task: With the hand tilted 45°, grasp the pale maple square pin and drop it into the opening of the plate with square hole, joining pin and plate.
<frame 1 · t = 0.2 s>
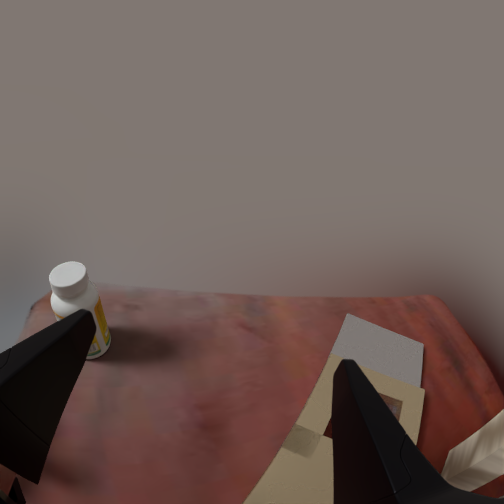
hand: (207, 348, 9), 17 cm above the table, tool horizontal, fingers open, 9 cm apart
maple pin: (456, 472, 14), on the table
plate with square hole: (356, 428, 21), on the table
supplement bottle: (91, 343, 26), on the table
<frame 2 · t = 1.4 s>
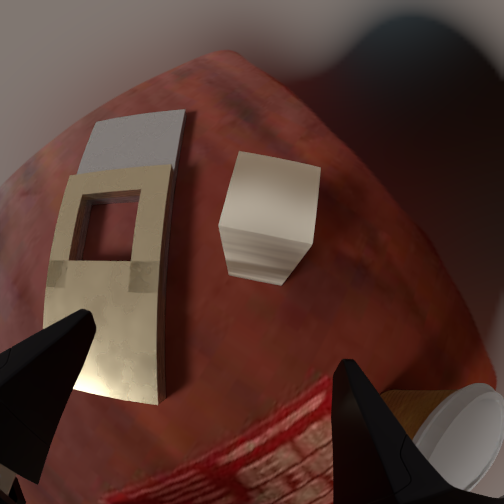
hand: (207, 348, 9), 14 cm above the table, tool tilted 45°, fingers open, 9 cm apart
maple pin: (260, 255, 24), on the table
plate with square hole: (113, 233, 24), on the table
disposable coffee cup: (387, 418, 20), on the table
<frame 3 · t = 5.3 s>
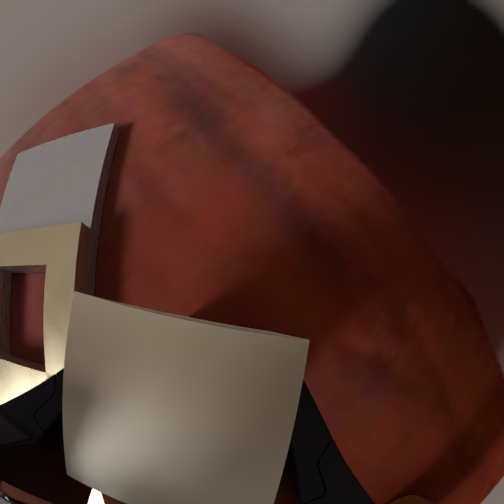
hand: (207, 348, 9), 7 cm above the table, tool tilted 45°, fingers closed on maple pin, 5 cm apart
maple pin: (221, 363, 14), on the table, touching gripper
plate with square hole: (34, 317, 15), on the table
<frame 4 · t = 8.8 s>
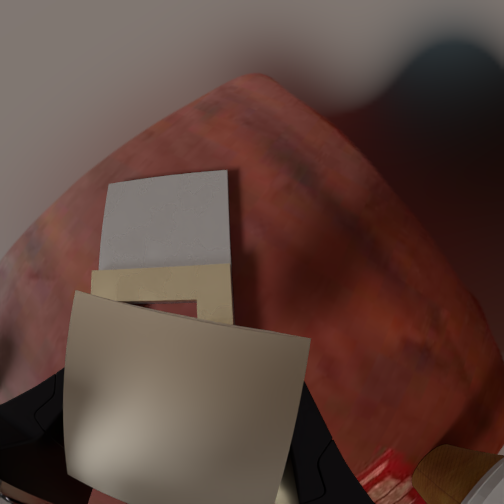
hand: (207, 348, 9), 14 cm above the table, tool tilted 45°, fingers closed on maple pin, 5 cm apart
maple pin: (221, 362, 15), point 7 cm above the table, touching gripper
plate with square hole: (165, 343, 21), on the table
disposable coffee cup: (433, 467, 17), on the table
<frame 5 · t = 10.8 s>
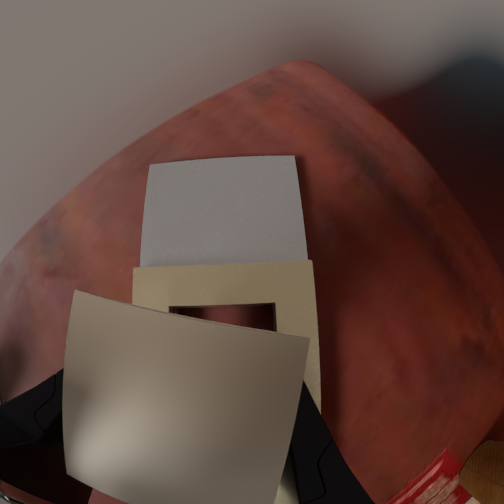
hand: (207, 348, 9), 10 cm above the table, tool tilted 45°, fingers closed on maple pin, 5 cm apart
maple pin: (221, 362, 15), point 4 cm above the table, touching gripper
plate with square hole: (226, 354, 18), on the table
disposable coffee cup: (476, 463, 14), on the table
when the fingers open (8 cm above the table, at t = 12.4 s): maple pin drops 1 cm, resting in plate with square hole.
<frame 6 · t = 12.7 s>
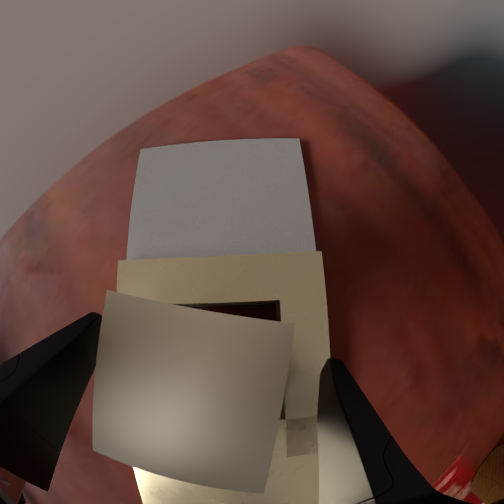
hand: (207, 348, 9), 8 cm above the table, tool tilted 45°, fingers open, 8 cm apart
maple pin: (223, 358, 16), resting in plate with square hole
plate with square hole: (223, 359, 16), on the table
disposable coffee cup: (488, 469, 12), on the table
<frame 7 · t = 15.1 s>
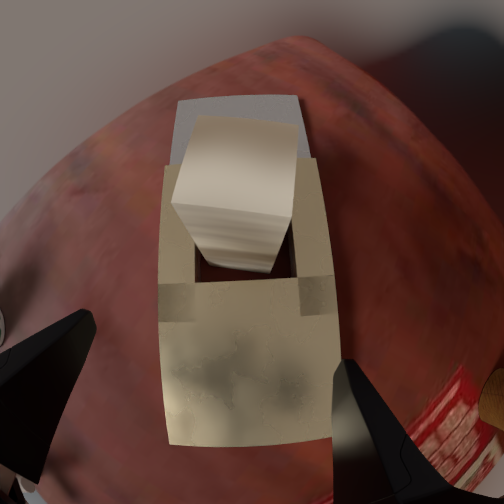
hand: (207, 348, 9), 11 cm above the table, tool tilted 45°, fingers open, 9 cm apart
maple pin: (243, 240, 21), resting in plate with square hole
plate with square hole: (244, 241, 21), on the table
pipe connector: (33, 470, 14), on the table
disposable coffee cup: (493, 394, 17), on the table
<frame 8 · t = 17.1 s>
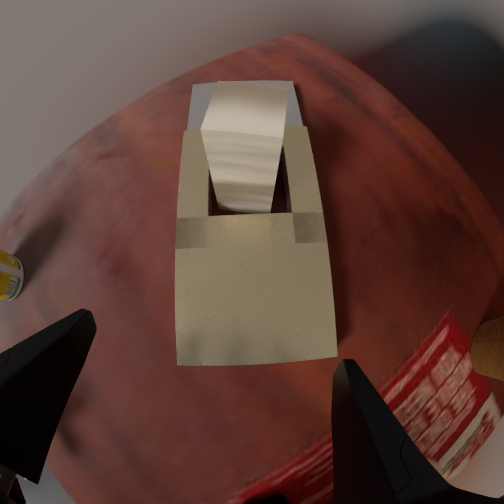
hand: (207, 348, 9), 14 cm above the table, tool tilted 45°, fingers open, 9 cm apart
maple pin: (248, 190, 25), resting in plate with square hole
plate with square hole: (248, 191, 25), on the table
supplement bottle: (13, 278, 23), on the table
disposable coffee cup: (484, 347, 21), on the table
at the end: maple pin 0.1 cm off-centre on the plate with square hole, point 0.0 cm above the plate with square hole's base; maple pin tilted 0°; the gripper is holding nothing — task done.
